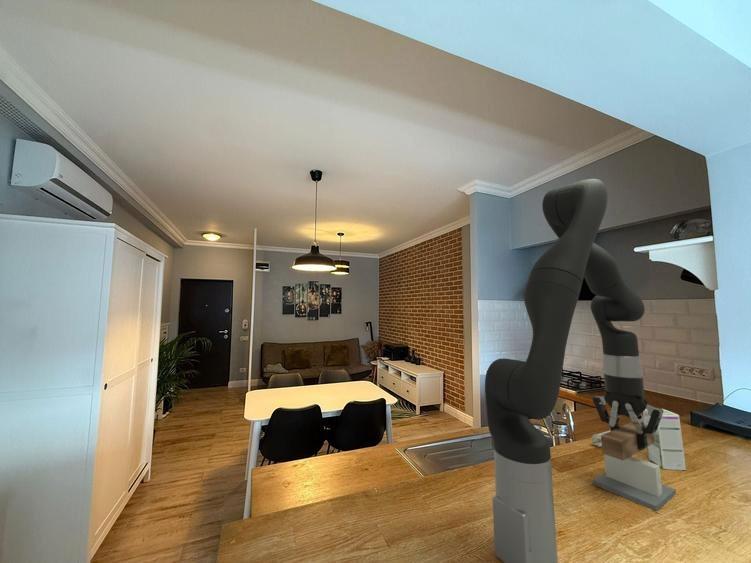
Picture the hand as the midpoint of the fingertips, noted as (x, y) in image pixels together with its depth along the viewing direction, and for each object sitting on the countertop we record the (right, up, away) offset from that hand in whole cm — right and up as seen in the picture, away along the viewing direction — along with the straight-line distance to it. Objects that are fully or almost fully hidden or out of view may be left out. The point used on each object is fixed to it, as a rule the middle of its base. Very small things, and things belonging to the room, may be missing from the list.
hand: (629, 445), depth 72 cm
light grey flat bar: (+22, -13, +24) cm, 35 cm away
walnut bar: (0, -1, 0) cm, 1 cm away
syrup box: (+19, -11, +10) cm, 24 cm away
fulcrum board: (0, -10, -1) cm, 10 cm away
